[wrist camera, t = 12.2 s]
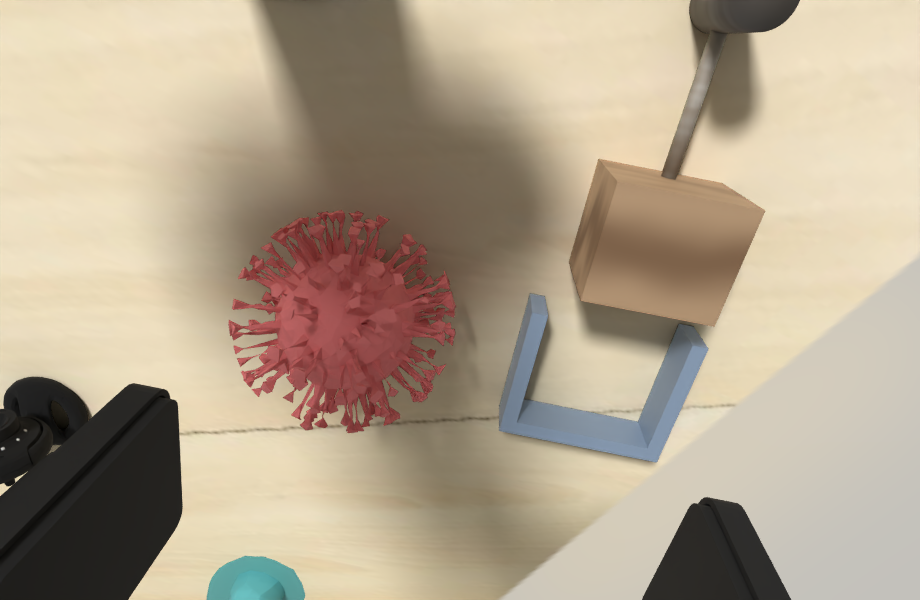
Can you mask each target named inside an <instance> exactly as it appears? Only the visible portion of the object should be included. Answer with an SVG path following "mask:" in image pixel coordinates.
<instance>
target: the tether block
mask: <svg viewBox="0 0 920 600" xmlns="http://www.w3.org/2000/svg"><path fill="white" fill-rule="evenodd" d="M799 1H800V0H691V1H690V6H689V12H690V18H691V20H692V22H693V24H694V26H695V27H696V28H697V29H698V30H700V31H701V32H704V33H707V34H709V37H708V40H707V42H706V45H705V48H704V51H703V54H702V57H701V60H700V63H699V66H698V69H697V72H696V75H695V78H694V80H693V83H692V86H691V89H690V92H689V95H688V98H687V101H686V104H685V107H684V110H683V113H682V115H681V118H680V121H679V124H678V127H677V130H676V133H675V136H674V139H673V142H672V145H671V148H670V150H669V153H668V156H667V159H666V162H665V165H664V168H663V171H658V170H653V169H647V168H642V167H637V166H632V165H627V164H622V163H617V162H612V161H607V160H602V159H598V163H597V166H596V170H595V173H594V177H593V180H592V184H591V187H590V191H589V194H588V198H587V201H586V204H585V208H584V211H583V215H582V218H581V222H580V225H579V229H578V232H577V236H576V239H575V243H574V246H573V250H572V253H571V257H570V260H569V264H570V267H571V270H572V274H573V277H574V280H575V284H576V287H577V290H578V293H579V297H580V300H581V301H584V302H590V303H595V304H600V305H605V306H610V307H615V308H621V309H626V310H631V311H636V312H641V313H646V314H652V315H657V316H662V317H667V318H672V319H677V320H683V321H688V322H693V323H698V324H703V325H709V326H715V324H716V322H717V320H718V317H719V315H720V313H721V310H722V308H723V306H724V304H725V301H726V299H727V297H728V295H729V292H730V290H731V288H732V285H733V283H734V281H735V279H736V276H737V274H738V272H739V270H740V267H741V265H742V263H743V260H744V258H745V256H746V254H747V251H748V249H749V247H750V245H751V242H752V240H753V238H754V236H755V233H756V231H757V229H758V226H759V224H760V222H761V220H762V217H763V215H764V213H765V210H764V209H762V208H760V207H759V206H757V205H756V204H754V203H753V202H751V201H749V200H748V199H746V198H745V197H743V196H742V195H740V194H738V193H737V192H735V191H734V190H732V189H731V188H729V187H727V186H726V185H724V184H723V183H719V182H713V181H708V180H703V179H698V178H693V177H688V176H683V175H678V172H679V169H680V166H681V163H682V161H683V158H684V155H685V152H686V149H687V147H688V144H689V141H690V138H691V135H692V133H693V130H694V127H695V124H696V121H697V118H698V116H699V113H700V110H701V107H702V104H703V102H704V99H705V96H706V93H707V90H708V88H709V85H710V82H711V79H712V76H713V74H714V71H715V68H716V65H717V62H718V59H719V57H720V54H721V51H722V48H723V45H724V43H725V40H726V37H727V34H728V33H751V32H765V31H769V30H772V29H774V28H776V27H778V26H780V25H781V24H783V23H784V22H785V21H786V20H787V19H788V18H789V17H790V16H791V15H792V14H793V12H794V11H795V9H796V7H797V6H798V3H799Z"/></svg>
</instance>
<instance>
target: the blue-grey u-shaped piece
mask: <svg viewBox="0 0 920 600" xmlns="http://www.w3.org/2000/svg"><path fill="white" fill-rule="evenodd" d="M547 318H548V312H547V306H546V300H545V296H541V295H536V294H531V293H530V295H529V299H528V303H527V306H526V310H525V314H524V317H523V321H522V325H521V328H520V332H519V336H518V339H517V343H516V347H515V350H514V354H513V358H512V361H511V365H510V369H509V372H508V376H507V379H506V383H505V387H504V390H503V394H502V398H501V401H500V405H499V431H502V432H507V433H512V434H517V435H522V436H527V437H532V438H537V439H542V440H547V441H552V442H557V443H562V444H567V445H572V446H577V447H582V448H587V449H592V450H597V451H602V452H607V453H612V454H617V455H622V456H627V457H632V458H637V459H642V460H647V461H652V462H657V461H658V459H659V456H660V454H661V452H662V450H663V448H664V445H665V443H666V441H667V439H668V437H669V434H670V432H671V430H672V428H673V426H674V423H675V421H676V419H677V417H678V415H679V412H680V410H681V408H682V406H683V404H684V401H685V399H686V397H687V395H688V393H689V391H690V388H691V386H692V384H693V382H694V380H695V377H696V375H697V373H698V371H699V369H700V366H701V364H702V362H703V360H704V358H705V355H706V353H707V351H708V347H707V346H706V344H705V343H704V341H703V340H702V338H701V337H700V335H699V334H698V332H697V331H696V330H695V328H694V327H693V326H688V325H683V324H679V325H678V327H677V330H676V332H675V334H674V337H673V339H672V342H671V344H670V346H669V349H668V351H667V353H666V356H665V358H664V361H663V363H662V365H661V368H660V370H659V373H658V375H657V377H656V380H655V382H654V385H653V387H652V389H651V392H650V394H649V397H648V399H647V401H646V404H645V406H644V408H643V411H642V413H641V416H640V418H639V420H638V422H636V421H631V420H626V419H621V418H616V417H611V416H606V415H601V414H596V413H592V412H587V411H582V410H577V409H572V408H567V407H562V406H557V405H552V404H547V403H542V402H537V401H532V400H527V399H524V396H525V393H526V389H527V386H528V383H529V379H530V376H531V372H532V369H533V366H534V362H535V359H536V356H537V352H538V349H539V345H540V342H541V339H542V335H543V332H544V329H545V325H546V322H547Z"/></svg>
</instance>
